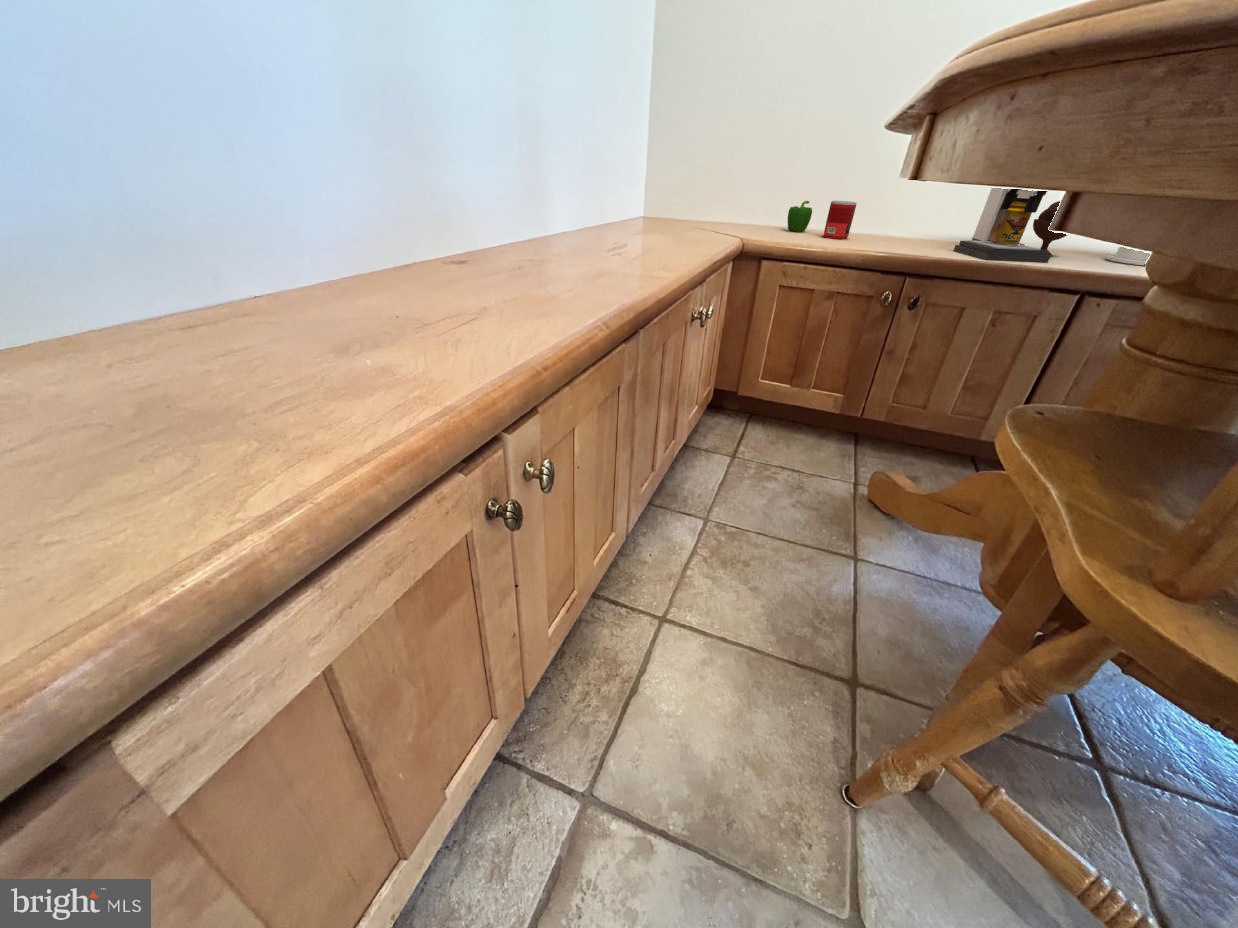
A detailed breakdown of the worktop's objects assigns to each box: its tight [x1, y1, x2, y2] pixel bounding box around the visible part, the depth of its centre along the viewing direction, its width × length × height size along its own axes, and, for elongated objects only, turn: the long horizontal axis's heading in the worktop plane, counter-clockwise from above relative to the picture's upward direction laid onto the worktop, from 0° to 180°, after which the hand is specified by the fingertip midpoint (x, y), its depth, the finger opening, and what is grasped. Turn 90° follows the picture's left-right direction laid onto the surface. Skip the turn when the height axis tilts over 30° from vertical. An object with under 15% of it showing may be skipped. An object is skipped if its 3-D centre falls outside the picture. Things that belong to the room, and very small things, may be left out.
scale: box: [953, 240, 1052, 264], centre depth 147 cm, size 18×16×3 cm
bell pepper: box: [787, 200, 813, 233], centre depth 179 cm, size 8×8×10 cm
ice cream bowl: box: [1032, 200, 1068, 257], centre depth 150 cm, size 11×11×15 cm
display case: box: [971, 187, 1033, 245], centre depth 156 cm, size 11×11×35 cm
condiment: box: [982, 198, 1033, 246], centre depth 144 cm, size 7×8×12 cm
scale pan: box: [967, 239, 1041, 250], centre depth 146 cm, size 13×13×1 cm
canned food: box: [823, 200, 858, 240], centre depth 167 cm, size 8×8×11 cm
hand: (1017, 210), depth 141 cm, fingers open, 9 cm apart
